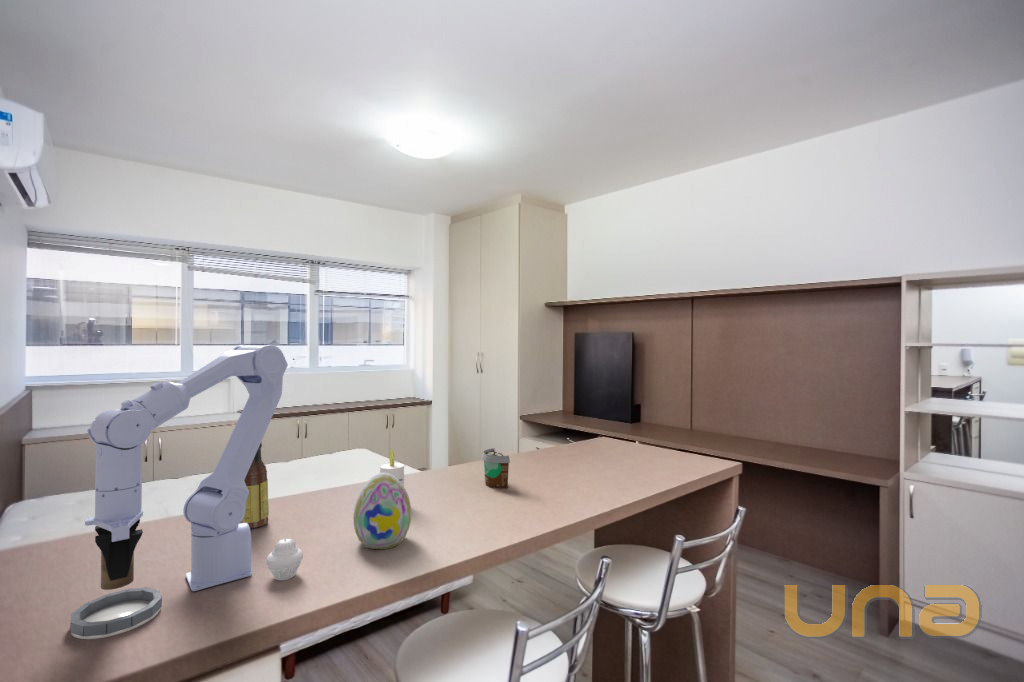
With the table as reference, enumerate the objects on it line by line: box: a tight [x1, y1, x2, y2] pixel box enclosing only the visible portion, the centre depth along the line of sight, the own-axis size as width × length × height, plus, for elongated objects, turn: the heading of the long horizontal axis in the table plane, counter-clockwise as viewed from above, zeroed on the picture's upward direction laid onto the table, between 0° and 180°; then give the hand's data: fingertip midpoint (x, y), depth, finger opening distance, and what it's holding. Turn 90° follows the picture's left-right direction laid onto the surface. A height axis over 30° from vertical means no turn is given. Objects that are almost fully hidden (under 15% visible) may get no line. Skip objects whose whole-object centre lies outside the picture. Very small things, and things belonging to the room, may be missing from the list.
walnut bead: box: [100, 551, 135, 591], centre depth 76 cm, size 4×4×6 cm
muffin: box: [266, 538, 304, 581], centre depth 90 cm, size 6×6×7 cm
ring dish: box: [69, 587, 163, 640], centre depth 76 cm, size 11×11×2 cm
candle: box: [379, 448, 405, 487], centre depth 130 cm, size 6×6×15 cm
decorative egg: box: [352, 472, 412, 550], centre depth 106 cm, size 12×12×15 cm
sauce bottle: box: [240, 442, 270, 530], centre depth 116 cm, size 7×6×20 cm
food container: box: [481, 447, 511, 489], centre depth 149 cm, size 12×6×10 cm, turn 25°
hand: (118, 572), depth 76 cm, fingers closed on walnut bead, 4 cm apart
